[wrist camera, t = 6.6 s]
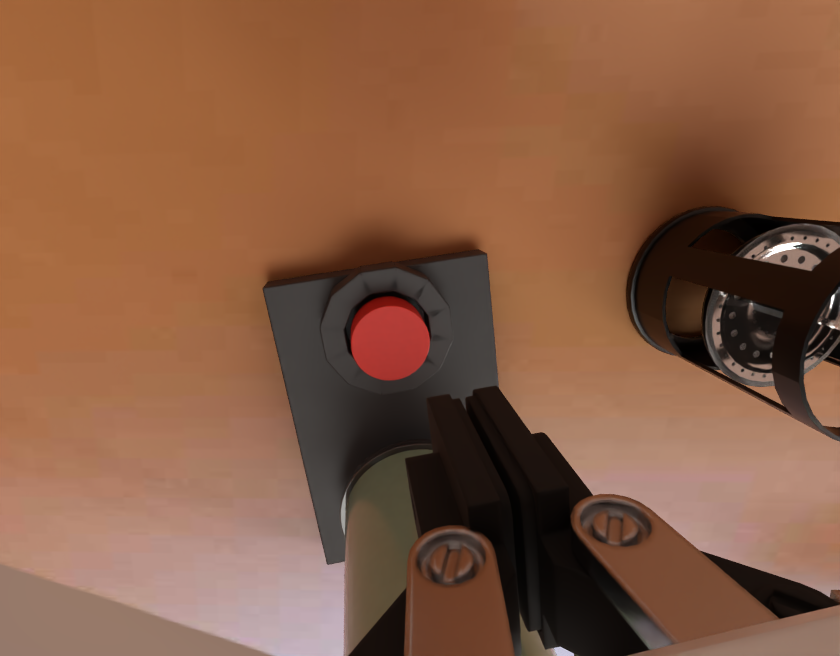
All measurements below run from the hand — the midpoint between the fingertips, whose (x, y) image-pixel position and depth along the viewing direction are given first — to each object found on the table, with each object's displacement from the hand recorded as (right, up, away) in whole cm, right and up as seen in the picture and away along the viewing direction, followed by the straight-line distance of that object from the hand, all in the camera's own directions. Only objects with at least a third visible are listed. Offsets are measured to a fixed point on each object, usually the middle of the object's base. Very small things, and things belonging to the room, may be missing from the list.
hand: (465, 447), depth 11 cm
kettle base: (-2, -2, +19) cm, 19 cm away
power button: (-3, +3, +14) cm, 14 cm away
